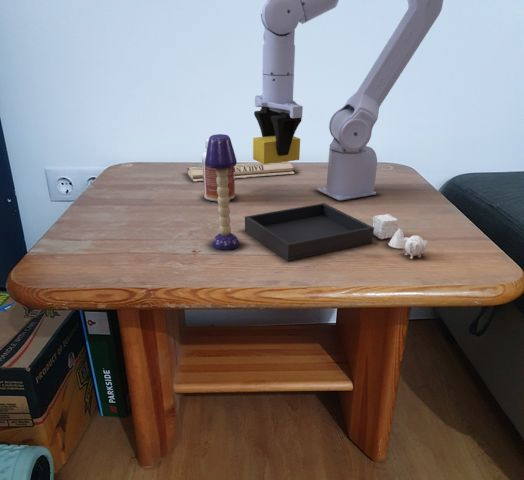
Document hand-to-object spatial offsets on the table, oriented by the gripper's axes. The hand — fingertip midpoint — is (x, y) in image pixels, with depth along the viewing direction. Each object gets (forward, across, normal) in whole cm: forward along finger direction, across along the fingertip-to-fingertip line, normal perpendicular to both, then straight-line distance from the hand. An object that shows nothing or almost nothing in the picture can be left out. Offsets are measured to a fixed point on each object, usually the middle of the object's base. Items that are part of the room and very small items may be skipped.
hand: (276, 152), depth 104 cm
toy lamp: (+9, +20, -21) cm, 30 cm away
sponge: (+1, 0, 0) cm, 1 cm away
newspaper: (+9, -17, +1) cm, 19 cm away
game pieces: (+9, +33, +4) cm, 34 cm away
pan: (+8, +23, -7) cm, 25 cm away
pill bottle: (+9, -3, -11) cm, 14 cm away
